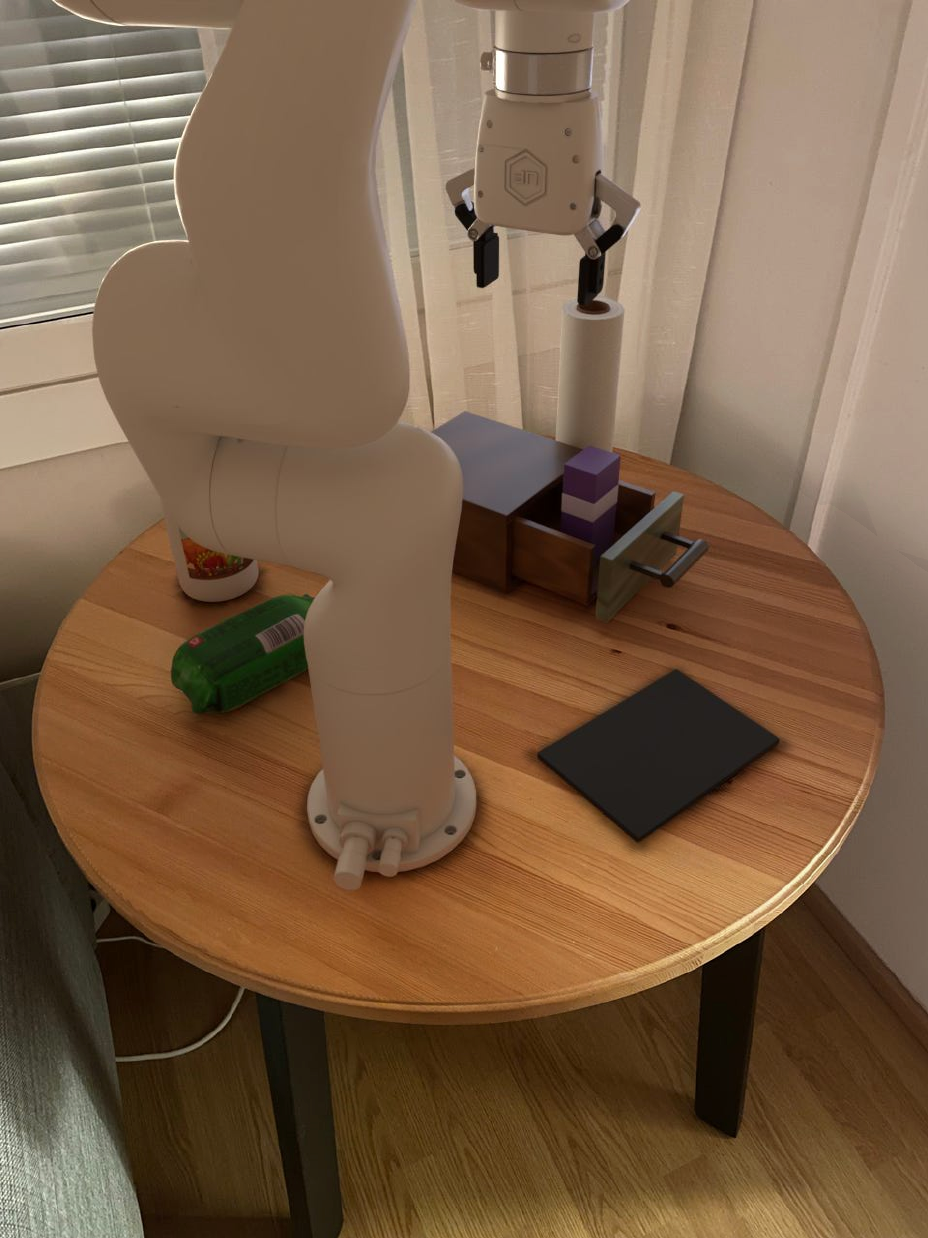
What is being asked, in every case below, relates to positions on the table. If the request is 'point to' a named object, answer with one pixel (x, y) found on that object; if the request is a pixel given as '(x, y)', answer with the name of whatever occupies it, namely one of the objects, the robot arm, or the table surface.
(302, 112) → the robot arm
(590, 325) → the paper towel roll
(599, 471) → the snack carton
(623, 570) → the drawer
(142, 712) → the table surface
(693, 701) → the mat
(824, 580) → the table surface
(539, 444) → the cabinet
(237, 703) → the snack package
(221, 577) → the milk bottle
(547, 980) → the table surface
